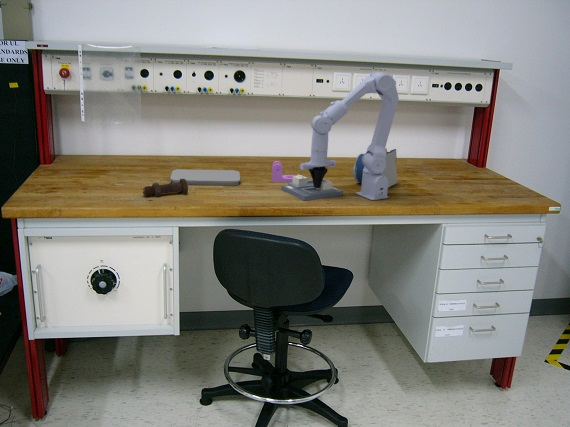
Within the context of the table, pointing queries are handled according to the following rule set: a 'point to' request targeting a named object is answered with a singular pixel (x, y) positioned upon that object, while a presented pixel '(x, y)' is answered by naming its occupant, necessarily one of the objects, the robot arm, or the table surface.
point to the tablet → (206, 177)
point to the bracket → (280, 173)
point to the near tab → (325, 185)
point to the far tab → (300, 180)
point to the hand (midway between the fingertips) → (316, 187)
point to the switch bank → (310, 191)
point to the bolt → (166, 188)
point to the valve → (388, 172)
